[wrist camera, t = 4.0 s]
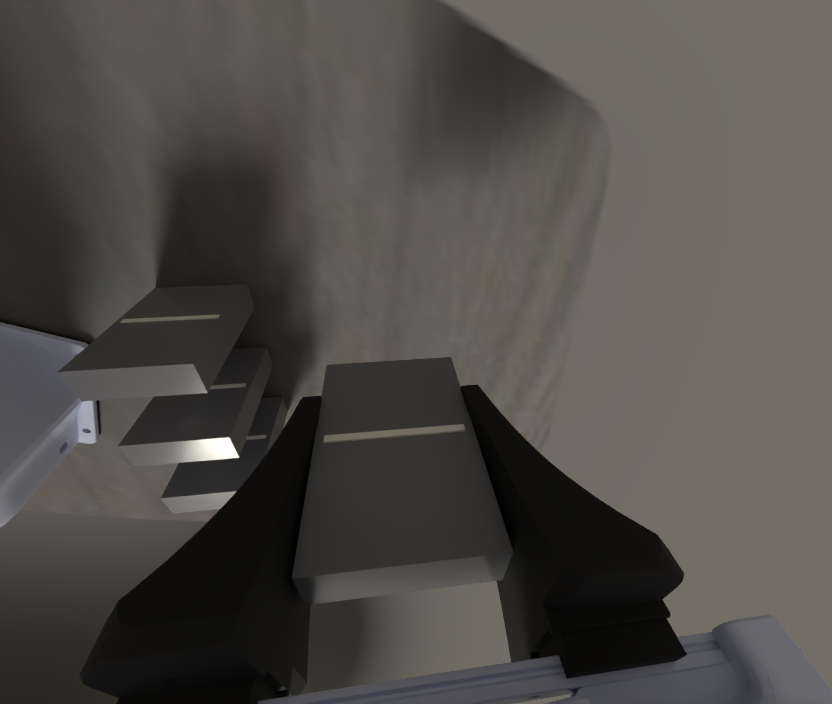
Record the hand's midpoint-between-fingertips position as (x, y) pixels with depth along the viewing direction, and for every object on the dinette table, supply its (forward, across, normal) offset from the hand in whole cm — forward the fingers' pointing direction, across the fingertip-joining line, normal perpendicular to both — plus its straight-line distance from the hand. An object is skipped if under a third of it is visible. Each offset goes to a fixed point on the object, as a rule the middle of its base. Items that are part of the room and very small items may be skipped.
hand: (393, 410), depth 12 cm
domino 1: (+10, +10, 0) cm, 15 cm away
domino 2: (+10, +10, +5) cm, 15 cm away
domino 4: (+2, 0, 0) cm, 2 cm away
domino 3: (+10, +10, +9) cm, 17 cm away
